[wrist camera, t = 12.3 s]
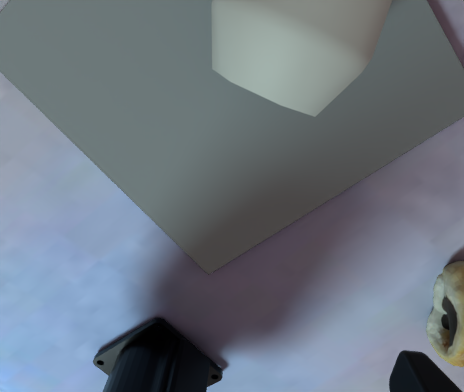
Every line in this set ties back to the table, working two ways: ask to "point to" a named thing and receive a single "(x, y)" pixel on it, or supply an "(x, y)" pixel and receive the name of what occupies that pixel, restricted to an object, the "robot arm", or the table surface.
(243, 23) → the salt shaker
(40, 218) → the table surface
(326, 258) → the table surface
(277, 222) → the slate mat
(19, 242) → the table surface
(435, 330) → the pastry
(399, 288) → the table surface
